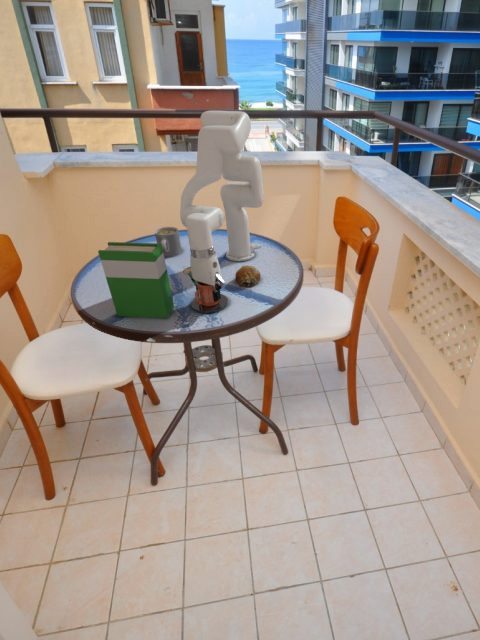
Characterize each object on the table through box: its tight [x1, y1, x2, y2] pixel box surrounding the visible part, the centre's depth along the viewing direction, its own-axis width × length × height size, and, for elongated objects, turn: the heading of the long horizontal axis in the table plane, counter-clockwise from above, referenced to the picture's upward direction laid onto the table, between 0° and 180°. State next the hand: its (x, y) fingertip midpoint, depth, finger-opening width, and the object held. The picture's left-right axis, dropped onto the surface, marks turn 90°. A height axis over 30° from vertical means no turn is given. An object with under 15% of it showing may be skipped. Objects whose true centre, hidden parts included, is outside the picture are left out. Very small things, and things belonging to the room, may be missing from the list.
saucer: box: [190, 293, 229, 314], centre depth 149 cm, size 13×13×1 cm
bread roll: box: [235, 265, 261, 287], centre depth 163 cm, size 10×10×8 cm
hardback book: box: [97, 241, 175, 319], centre depth 138 cm, size 18×7×24 cm, turn 86°
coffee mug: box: [154, 226, 183, 258], centre depth 182 cm, size 13×10×10 cm
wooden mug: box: [194, 281, 219, 306], centre depth 146 cm, size 10×7×8 cm
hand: (209, 297), depth 148 cm, fingers closed on wooden mug, 6 cm apart
